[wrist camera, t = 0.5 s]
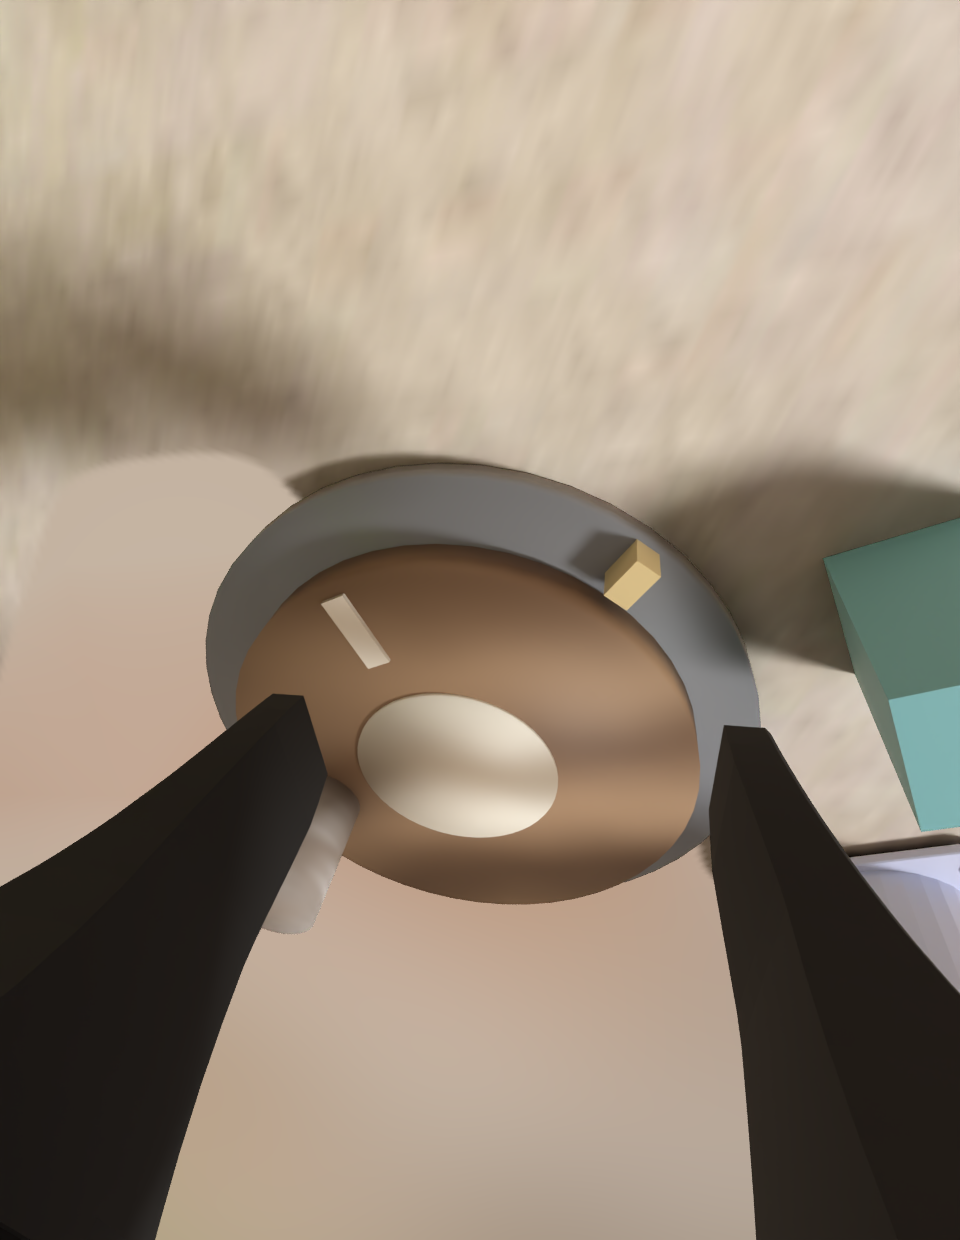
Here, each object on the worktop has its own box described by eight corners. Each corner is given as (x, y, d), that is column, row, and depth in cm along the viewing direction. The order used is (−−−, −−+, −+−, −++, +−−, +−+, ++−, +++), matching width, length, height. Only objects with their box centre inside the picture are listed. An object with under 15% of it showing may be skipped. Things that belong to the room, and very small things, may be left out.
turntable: (753, 841, 24) (783, 1012, 19) (398, 891, 31) (355, 1029, 26) (586, 461, 17) (569, 585, 12) (167, 631, 23) (49, 756, 19)
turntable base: (816, 839, 25) (830, 891, 24) (392, 897, 33) (379, 939, 32) (633, 341, 16) (633, 365, 14) (113, 586, 24) (73, 620, 23)
